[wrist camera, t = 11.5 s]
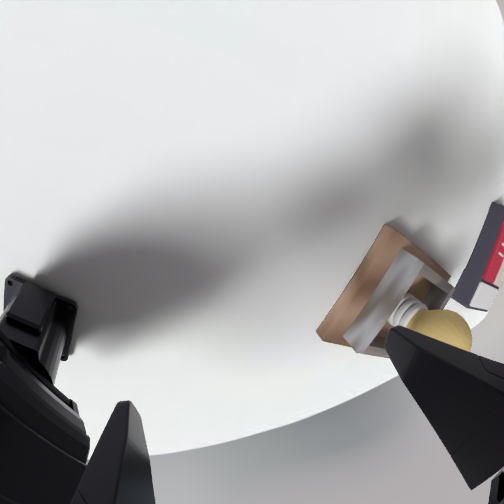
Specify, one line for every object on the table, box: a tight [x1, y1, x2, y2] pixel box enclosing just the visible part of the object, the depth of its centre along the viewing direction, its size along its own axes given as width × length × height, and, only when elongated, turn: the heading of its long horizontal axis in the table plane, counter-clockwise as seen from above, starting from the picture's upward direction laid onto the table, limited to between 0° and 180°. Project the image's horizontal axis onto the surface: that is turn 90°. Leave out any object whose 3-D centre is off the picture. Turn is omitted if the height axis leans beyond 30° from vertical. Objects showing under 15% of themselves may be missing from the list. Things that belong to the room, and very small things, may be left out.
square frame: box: [316, 224, 455, 358], centre depth 27 cm, size 12×14×4 cm
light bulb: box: [388, 293, 472, 352], centre depth 23 cm, size 6×6×10 cm
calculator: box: [451, 202, 504, 312], centre depth 32 cm, size 11×4×15 cm
